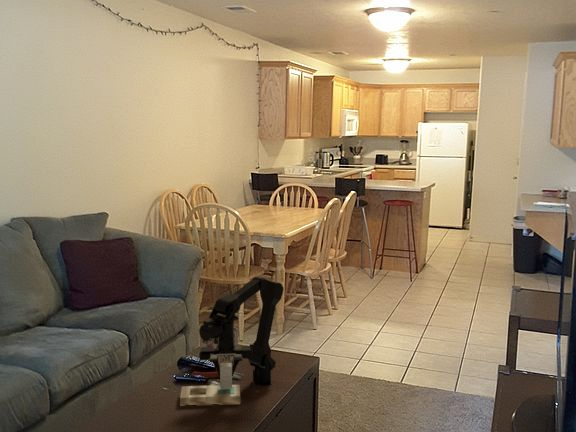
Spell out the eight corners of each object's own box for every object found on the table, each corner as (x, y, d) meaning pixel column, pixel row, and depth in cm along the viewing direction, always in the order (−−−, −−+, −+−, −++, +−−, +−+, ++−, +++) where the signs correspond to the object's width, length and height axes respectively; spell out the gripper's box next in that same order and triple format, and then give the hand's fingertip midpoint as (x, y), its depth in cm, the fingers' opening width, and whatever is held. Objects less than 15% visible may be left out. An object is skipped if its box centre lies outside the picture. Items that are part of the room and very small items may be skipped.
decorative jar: (238, 359, 261) (238, 318, 259) (221, 368, 251) (221, 325, 249) (216, 354, 267) (216, 313, 265) (199, 362, 257) (198, 320, 255)
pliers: (238, 385, 235) (238, 378, 235) (190, 378, 242) (190, 371, 241) (249, 374, 246) (249, 368, 246) (203, 368, 252) (203, 362, 252)
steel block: (231, 383, 224) (231, 362, 223) (232, 388, 219) (232, 367, 218) (220, 384, 223) (220, 363, 222) (220, 389, 219) (220, 367, 218)
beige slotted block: (239, 392, 227) (239, 384, 227) (240, 404, 217) (240, 395, 217) (182, 394, 225) (182, 385, 225) (180, 406, 215) (180, 397, 215)
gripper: (251, 326, 228) (251, 366, 230) (200, 327, 226) (200, 368, 228) (252, 336, 217) (252, 378, 219) (199, 337, 215) (199, 379, 217)
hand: (226, 375), depth 221 cm, fingers closed on steel block, 4 cm apart
